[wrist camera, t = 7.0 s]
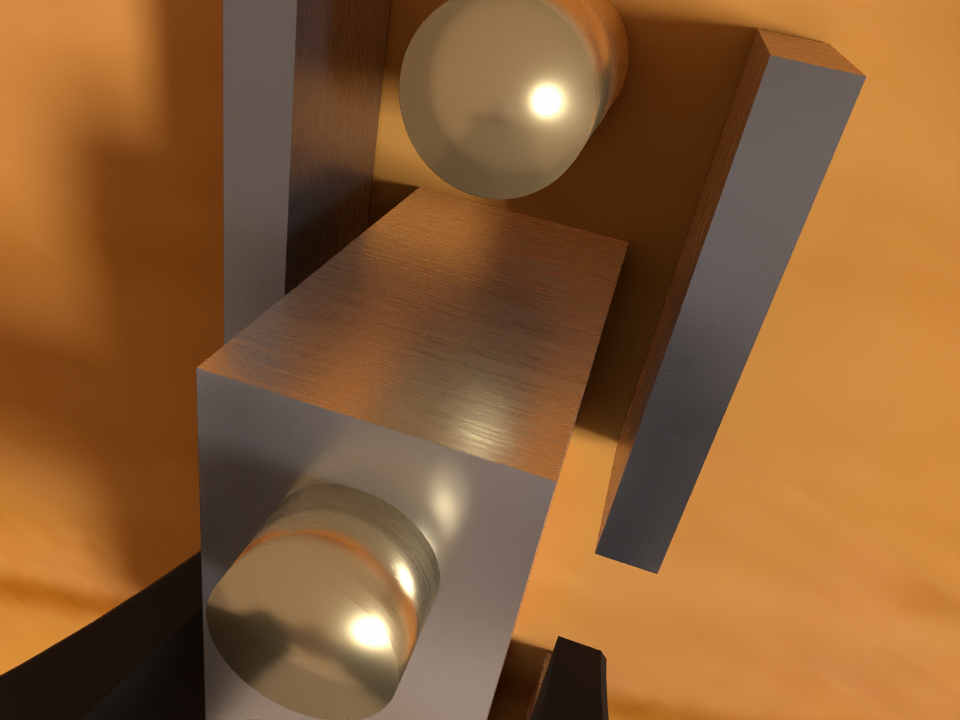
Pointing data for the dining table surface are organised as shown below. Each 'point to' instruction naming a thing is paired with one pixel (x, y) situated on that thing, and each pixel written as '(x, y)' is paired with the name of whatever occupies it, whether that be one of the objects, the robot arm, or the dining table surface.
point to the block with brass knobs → (392, 463)
